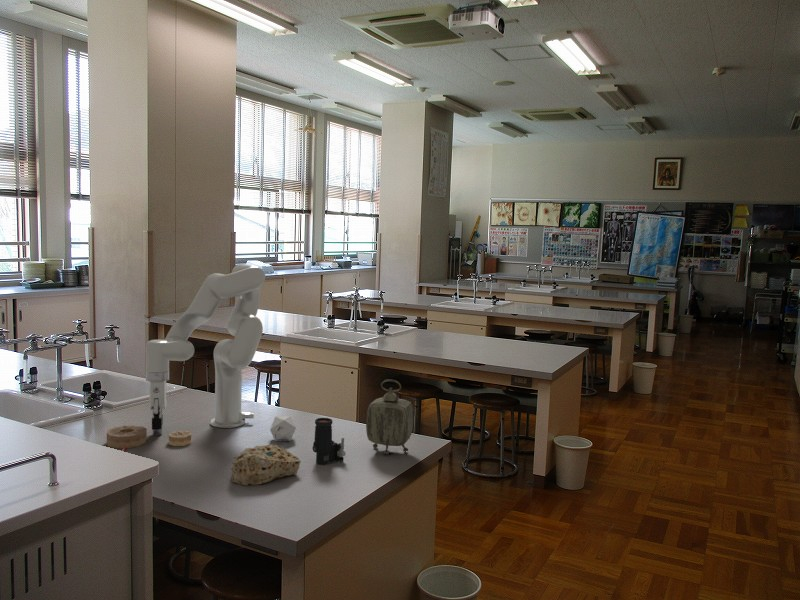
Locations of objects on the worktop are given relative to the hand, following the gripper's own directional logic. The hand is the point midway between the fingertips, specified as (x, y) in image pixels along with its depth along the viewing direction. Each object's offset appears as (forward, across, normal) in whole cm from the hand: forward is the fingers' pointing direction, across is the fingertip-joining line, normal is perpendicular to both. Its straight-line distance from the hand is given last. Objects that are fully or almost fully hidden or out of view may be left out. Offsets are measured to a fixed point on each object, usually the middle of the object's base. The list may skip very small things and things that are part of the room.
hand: (157, 427), depth 224 cm
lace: (+3, -18, +9) cm, 20 cm away
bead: (+3, -7, +9) cm, 12 cm away
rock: (+3, -45, -34) cm, 56 cm away
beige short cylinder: (+3, -10, -8) cm, 13 cm away
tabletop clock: (+3, -31, -75) cm, 81 cm away
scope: (+3, -36, -53) cm, 64 cm away
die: (+3, -12, -42) cm, 44 cm away
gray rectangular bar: (+3, 0, 0) cm, 3 cm away
